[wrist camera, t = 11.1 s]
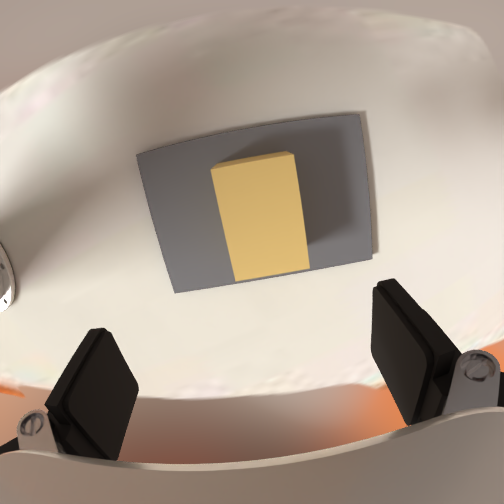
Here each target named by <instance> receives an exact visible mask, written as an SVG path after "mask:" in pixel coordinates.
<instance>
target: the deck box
mask: <svg viewBox="0 0 504 504" xmlns="http://www.w3.org/2000/svg"><path fill="white" fill-rule="evenodd" d="M211 174H212V179H213V184H214V188H215V193H216V197H217V202H218V206H219V211H220V215H221V220H222V224H223V229H224V233H225V238H226V242H227V246H228V251H229V255H230V259H231V264H232V268H233V272H234V276H235V281H241V280H247V279H253V278H259V277H265V276H271V275H276V274H282V273H288V272H293V271H299V270H304V269H310V265H309V257H308V249H307V241H306V233H305V226H304V218H303V211H302V204H301V198H300V191H299V184H298V178H297V172H296V165H295V159H294V154H292V153H289V152H287V151H283V152H277V153H271V154H265V155H259V156H253V157H248V158H243V159H237V160H232V161H227V162H222V163H217V164H216V165H215V166H214V167H213V168H212V169H211Z"/></svg>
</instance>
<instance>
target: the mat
mask: <svg viewBox="0 0 504 504" xmlns="http://www.w3.org/2000/svg"><path fill="white" fill-rule="evenodd" d="M283 151H287V152H289V153H292V154H294V159H295V165H296V172H297V178H298V184H299V191H300V198H301V204H302V211H303V218H304V226H305V233H306V241H307V249H308V257H309V265H310V269H304V270H299V271H293V272H288V273H282V274H276V275H271V276H265V277H259V278H253V279H247V280H241V281H235V276H234V272H233V268H232V264H231V259H230V255H229V251H228V246H227V242H226V238H225V233H224V229H223V224H222V220H221V215H220V211H219V206H218V202H217V197H216V193H215V188H214V184H213V179H212V174H211V169H212V168H213V167H214V166H215V165H216V164H217V163H222V162H227V161H232V160H237V159H243V158H248V157H253V156H259V155H265V154H271V153H277V152H283ZM136 157H137V161H138V165H139V169H140V174H141V178H142V182H143V186H144V190H145V194H146V198H147V201H148V205H149V209H150V213H151V216H152V220H153V224H154V227H155V231H156V234H157V238H158V241H159V245H160V248H161V251H162V255H163V258H164V261H165V264H166V268H167V271H168V274H169V277H170V280H171V283H172V286H173V289H174V292H175V293H181V292H187V291H194V290H200V289H206V288H213V287H219V286H225V285H231V284H237V283H243V282H249V281H255V280H261V279H267V278H273V277H279V276H284V275H290V274H296V273H301V272H307V271H312V270H318V269H323V268H329V267H334V266H339V265H345V264H350V263H355V262H360V261H365V260H370V259H372V233H371V215H370V201H369V188H368V178H367V168H366V159H365V151H364V143H363V135H362V128H361V122H360V115H359V114H355V115H343V116H332V117H322V118H313V119H305V120H297V121H290V122H283V123H276V124H270V125H264V126H258V127H252V128H247V129H241V130H236V131H231V132H226V133H221V134H216V135H211V136H207V137H202V138H198V139H194V140H189V141H185V142H181V143H177V144H173V145H169V146H166V147H162V148H158V149H154V150H151V151H147V152H144V153H140V154H137V155H136Z"/></svg>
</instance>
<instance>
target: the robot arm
mask: <svg viewBox="0 0 504 504" xmlns="http://www.w3.org/2000/svg"><path fill="white" fill-rule="evenodd" d="M14 296H15V281H14V275H13V271H12V268H11V265H10V262H9V259H8V257H7V255H6V253H5V251H4V249H3V248H2V246H1V244H0V312H2V311H5V310H6V309H7V308H8V307H9V306H10V305H11V304H12V302H13V300H14ZM371 353H372V356H373V358H374V360H375V362H376V364H377V366H378V368H379V370H380V372H381V374H382V376H383V378H384V380H385V382H386V384H387V386H388V388H389V390H390V392H391V394H392V396H393V398H394V400H395V402H396V404H397V406H398V408H399V411H400V413H401V415H402V417H403V419H404V421H405V423H406V424H407V425H408V427H405V428H402V429H399V430H396V431H392V432H390V433H386V434H383V435H379V436H376V437H372V438H369V439H365V440H361V441H358V442H354V443H350V444H346V445H341V446H338V447H333V448H328V449H324V450H319V451H314V452H309V453H303V454H298V455H291V456H285V457H278V458H271V459H263V460H254V461H244V462H232V463H216V464H151V463H134V462H123V461H116V460H117V459H118V457H119V453H120V450H121V446H122V443H123V439H124V436H125V433H126V429H127V426H128V423H129V419H130V417H131V413H132V410H133V407H134V404H135V401H136V398H137V395H138V391H139V387H138V383H137V381H136V379H135V378H134V376H133V374H132V372H131V370H130V369H129V367H128V365H127V363H126V361H125V359H124V357H123V355H122V353H121V351H120V350H119V348H118V346H117V344H116V342H115V340H114V337H113V335H112V334H111V332H109V331H107V330H106V329H105V328H96V329H90V330H89V331H88V333H87V334H86V336H85V338H84V339H83V341H82V342H81V344H80V345H79V347H78V349H77V350H76V352H75V353H74V355H73V357H72V358H71V360H70V361H69V363H68V365H67V366H66V368H65V370H64V371H63V373H62V375H61V376H60V378H59V380H58V381H57V383H56V385H55V387H54V388H53V390H52V392H51V394H50V396H49V397H48V399H47V401H46V402H45V406H46V407H47V409H48V410H49V411H48V413H45V412H44V411H43V410H39V409H38V410H33V411H30V412H28V413H27V414H25V415H24V416H23V417H22V418H21V420H20V421H19V423H18V426H17V435H18V437H16V438H14V439H13V440H11V441H9V442H7V443H6V444H4V445H2V446H0V504H504V372H500V364H499V362H498V361H497V359H496V358H495V357H494V356H493V355H492V354H490V353H488V352H486V351H482V350H471V351H467V352H465V353H463V354H462V353H461V352H460V351H459V350H458V348H457V347H456V346H455V345H454V344H453V342H452V341H451V340H450V339H449V338H448V336H447V335H446V334H445V333H444V332H443V330H442V329H441V328H440V327H439V326H438V325H437V323H436V322H435V321H434V320H433V319H432V318H431V316H430V315H429V314H428V313H427V312H426V311H425V310H424V309H422V308H421V307H420V306H419V305H418V304H417V303H416V302H415V300H414V299H413V298H412V297H411V296H410V295H409V294H408V293H407V292H406V290H405V289H404V288H403V287H402V286H401V285H400V284H399V283H398V282H397V281H396V280H395V279H394V278H392V279H388V280H384V281H379V282H378V283H377V286H376V287H374V288H373V303H372V334H371ZM409 425H411V426H409Z"/></svg>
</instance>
